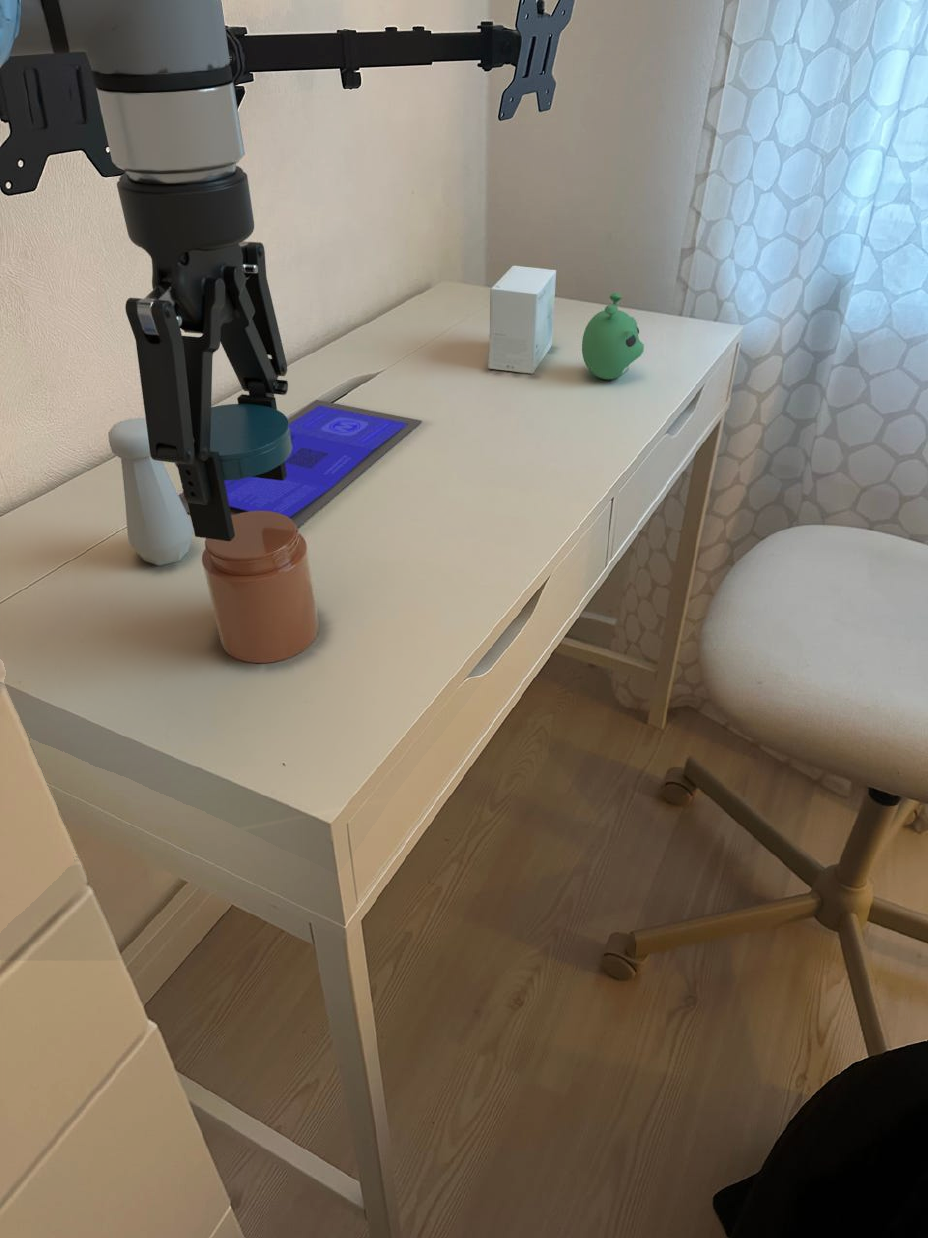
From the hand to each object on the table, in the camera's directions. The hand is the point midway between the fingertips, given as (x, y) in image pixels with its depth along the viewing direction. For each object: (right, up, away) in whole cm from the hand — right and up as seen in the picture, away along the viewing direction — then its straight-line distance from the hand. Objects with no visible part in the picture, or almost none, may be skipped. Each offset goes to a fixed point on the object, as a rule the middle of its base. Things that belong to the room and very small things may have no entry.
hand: (243, 504), depth 66 cm
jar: (0, -10, +8) cm, 12 cm away
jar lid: (0, +5, -3) cm, 6 cm away
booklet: (-1, +9, +31) cm, 33 cm away
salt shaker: (-11, -2, +17) cm, 21 cm away
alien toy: (+35, +22, +48) cm, 63 cm away
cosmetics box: (+24, +26, +54) cm, 65 cm away
